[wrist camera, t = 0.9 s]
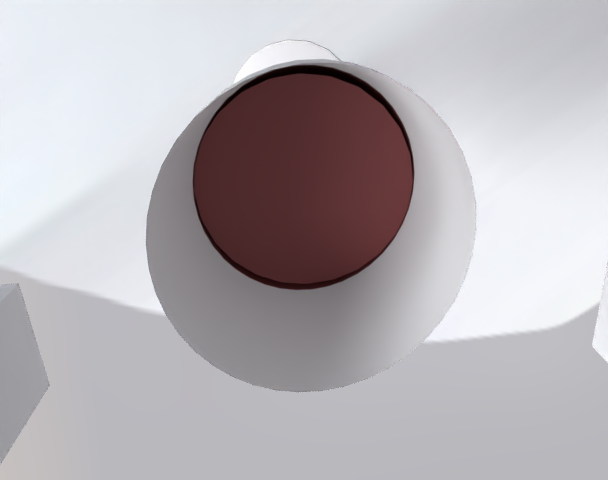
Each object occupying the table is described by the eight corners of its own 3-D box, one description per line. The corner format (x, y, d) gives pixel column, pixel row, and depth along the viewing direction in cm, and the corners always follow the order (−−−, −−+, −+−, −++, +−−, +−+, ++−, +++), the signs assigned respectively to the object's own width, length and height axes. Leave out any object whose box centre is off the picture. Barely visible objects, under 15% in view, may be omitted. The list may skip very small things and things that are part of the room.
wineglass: (379, 47, 35) (531, 107, 14) (340, 190, 38) (413, 411, 17) (240, 13, 33) (170, 21, 12) (214, 164, 37) (129, 367, 16)
